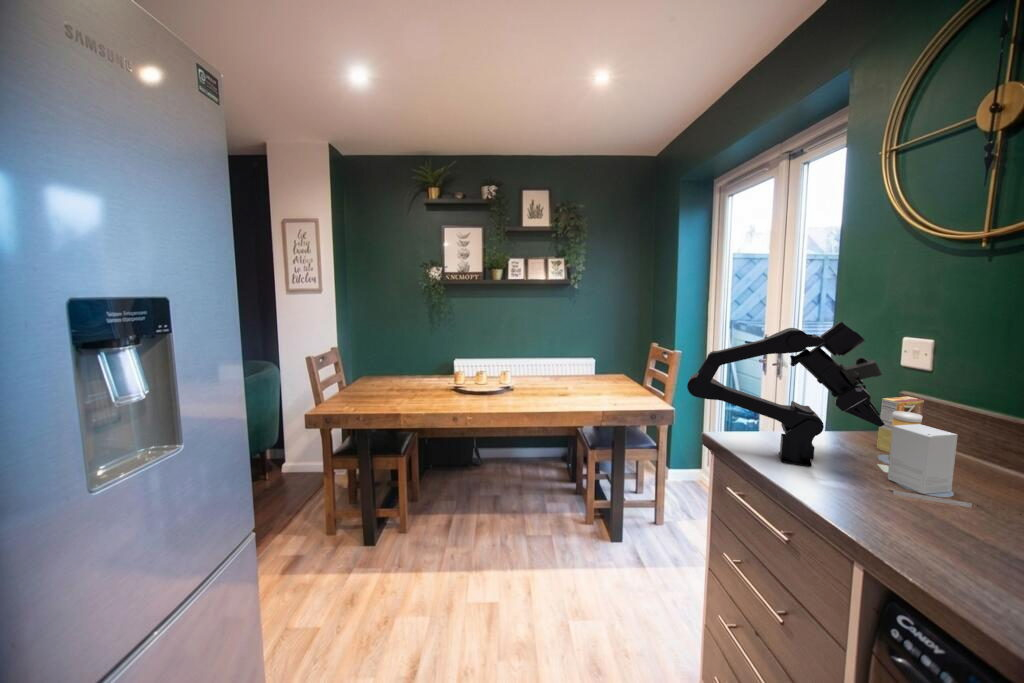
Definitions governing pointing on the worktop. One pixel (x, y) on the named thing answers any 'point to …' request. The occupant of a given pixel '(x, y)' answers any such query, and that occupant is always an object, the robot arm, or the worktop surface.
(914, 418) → the amber tube
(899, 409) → the candy box
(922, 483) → the supplement box
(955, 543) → the worktop surface
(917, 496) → the white board
